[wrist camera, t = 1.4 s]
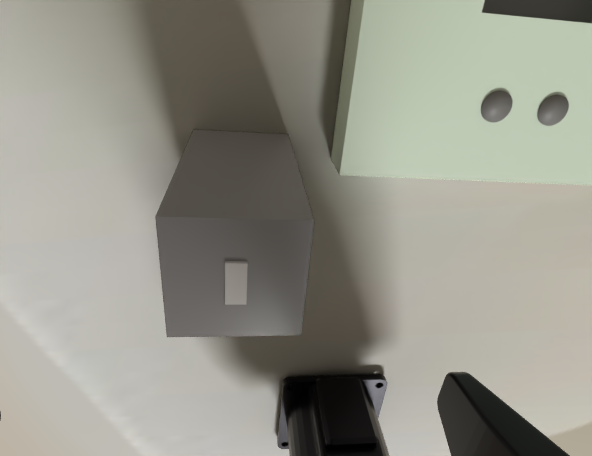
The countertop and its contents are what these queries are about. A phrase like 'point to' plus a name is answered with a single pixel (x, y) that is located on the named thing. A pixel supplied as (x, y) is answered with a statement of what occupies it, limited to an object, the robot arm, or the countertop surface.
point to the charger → (235, 238)
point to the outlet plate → (467, 91)
